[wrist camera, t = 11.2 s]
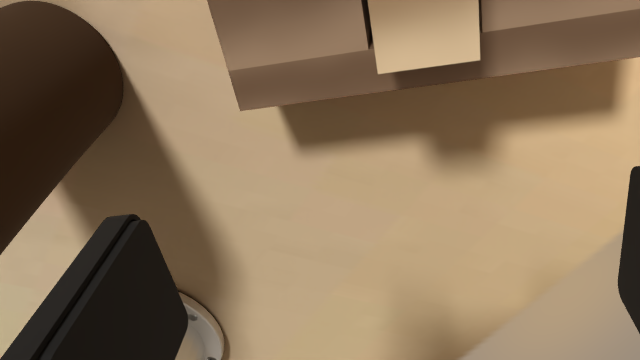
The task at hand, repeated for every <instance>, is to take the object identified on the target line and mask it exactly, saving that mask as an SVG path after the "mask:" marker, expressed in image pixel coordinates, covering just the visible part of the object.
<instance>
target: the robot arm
mask: <svg viewBox="0 0 640 360" xmlns="http://www.w3.org/2000/svg"><path fill="white" fill-rule="evenodd" d="M618 288H619V294H620V297H621V299H622V302H623V303H624V305H625V307H626V309H627V311H628V313H629V314H630V316H631V318H632V320H633V322H634V324H635V326H636V327H637V329H638V331H639V333H640V166H636V167H634V168H633V169H632V170H631V174H630V182H629V191H628V199H627V207H626V216H625V224H624V233H623V242H622V249H621V258H620V266H619V275H618ZM224 345H225V344H224V337H223V333H222V331H221V329H220V326H219V325H218V323H217V322H216V320H215V319H214V317H213V316H212V315H211V314H210V313H209V312H208V311H207V310H206V309H205V308H204V307H203V306H201V305H200V304H199V303H197V302H196V301H195V300H193V299H191V298H190V297H188V296H186V295H184V294H182V293H180V292H178V290H177V288H176V286H175V283H174V281H173V279H172V276H171V274H170V272H169V270H168V267H167V265H166V263H165V260H164V258H163V256H162V253H161V251H160V249H159V247H158V244H157V242H156V240H155V237H154V235H153V233H152V230H151V228H150V226H149V224H148V223H147V222H146V221H145V220H141V219H140V218H139V217H138V216H137V215H135V214H130V215H121V216H112V217H107V218H106V219H105V220H104V221H103V222H102V223H101V225H100V226H99V227H98V229H97V230H96V231H95V233H94V234H93V235H92V237H91V238H90V239H89V241H88V242H87V243H86V245H85V246H84V247H83V249H82V250H81V251H80V253H79V254H78V256H77V257H76V258H75V260H74V261H73V262H72V264H71V265H70V266H69V268H68V269H67V270H66V272H65V273H64V274H63V276H62V277H61V278H60V280H59V281H58V282H57V284H56V285H55V286H54V288H53V289H52V290H51V292H50V293H49V294H48V296H47V297H46V298H45V300H44V301H43V302H42V304H41V305H40V306H39V308H38V309H37V310H36V312H35V313H34V315H33V316H32V317H31V319H30V320H29V321H28V323H27V324H26V325H25V327H24V328H23V329H22V331H21V332H20V333H19V335H18V336H17V337H16V339H15V340H14V341H13V343H12V344H11V345H10V347H9V348H8V349H7V351H6V352H5V353H4V355H3V356H2V357H1V359H0V360H221V358H222V355H223V352H224Z"/></svg>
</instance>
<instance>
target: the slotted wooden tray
mask: <svg viewBox="0 0 640 360" xmlns="http://www.w3.org/2000/svg"><path fill="white" fill-rule="evenodd" d="M207 1H208V5H209V8H210V12H211V15H212V18H213V22H214V25H215V28H216V32H217V35H218V38H219V42H220V45H221V48H222V52H223V55H224V58H225V62H226V65H227V68H228V72H229V75H230V78H231V82H232V85H233V88H234V92H235V95H236V98H237V102H238V105H239V109H240V111H244V110H252V109H259V108H266V107H274V106H281V105H289V104H296V103H303V102H311V101H318V100H326V99H333V98H340V97H348V96H355V95H363V94H370V93H377V92H385V91H392V90H400V89H407V88H414V87H422V86H429V85H437V84H444V83H451V82H459V81H466V80H474V79H481V78H488V77H496V76H503V75H511V74H518V73H525V72H533V71H540V70H548V69H555V68H562V67H570V66H577V65H585V64H592V63H599V62H607V61H614V60H622V59H629V58H636V57H640V0H478V3H479V34H480V60H478V61H471V62H463V63H456V64H449V65H442V66H434V67H427V68H420V69H412V70H405V71H398V72H390V73H383V74H378V71H377V64H376V57H375V50H374V43H373V36H372V28H371V21H370V14H369V7H368V0H207Z"/></svg>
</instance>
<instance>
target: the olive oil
mask: <svg viewBox="0 0 640 360" xmlns="http://www.w3.org/2000/svg"><path fill="white" fill-rule="evenodd" d="M122 96H123V81H122V76H121V71H120V68H119V65H118V63H117V60H116V58H115V56H114V54H113V52H112V51H111V49H110V47H109V46H108V44H107V43H106V42H105V40H104V39H103V38H102V37H101V35H100V34H99V33H98V32H97V31H96V30H95V29H94V28H93V27H92V26H91V25H90V24H88V23H87V22H86V21H85V20H83V19H82V18H80V17H79V16H77V15H76V14H74V13H72V12H71V11H69V10H67V9H65V8H62V7H60V6H57V5H54V4H51V3H47V2H41V1H22V2H17V3H13V4H10V5H7V6H4V7H2V8H0V255H1V253H2V252H3V251H4V250H5V248H6V247H7V246H8V245H9V243H10V242H11V241H12V240H13V238H14V237H15V236H16V235H17V233H18V232H19V231H20V230H21V229H22V227H23V226H24V225H25V224H26V222H27V221H28V220H29V219H30V217H31V216H32V215H33V214H34V212H35V211H36V210H37V209H38V208H39V206H40V205H41V204H42V203H43V201H44V200H45V199H46V198H47V197H48V195H49V194H50V193H51V192H52V191H53V189H54V188H55V187H56V186H57V184H58V183H59V182H60V181H61V180H62V178H63V177H64V176H65V175H66V174H67V172H68V171H69V170H70V169H71V168H72V166H73V165H74V164H75V163H76V162H77V160H78V159H79V158H80V157H81V156H82V155H83V153H84V152H85V151H86V150H87V149H88V148H89V147H90V145H91V144H92V143H93V142H94V141H95V140H96V139H97V137H98V136H99V135H100V134H101V133H102V132H103V131H104V129H105V128H106V127H107V126H108V125H109V124H110V122H111V121H112V120H113V119H114V117H115V116H116V114H117V112H118V110H119V108H120V105H121V102H122Z"/></svg>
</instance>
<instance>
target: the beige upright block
mask: <svg viewBox="0 0 640 360" xmlns="http://www.w3.org/2000/svg"><path fill="white" fill-rule="evenodd" d="M368 7H369V14H370V21H371V28H372V36H373V43H374V50H375V57H376V64H377V71H378V74H383V73H390V72H398V71H405V70H412V69H420V68H427V67H434V66H442V65H449V64H456V63H463V62H471V61H478V60H480V34H479V3H478V0H368Z"/></svg>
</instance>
